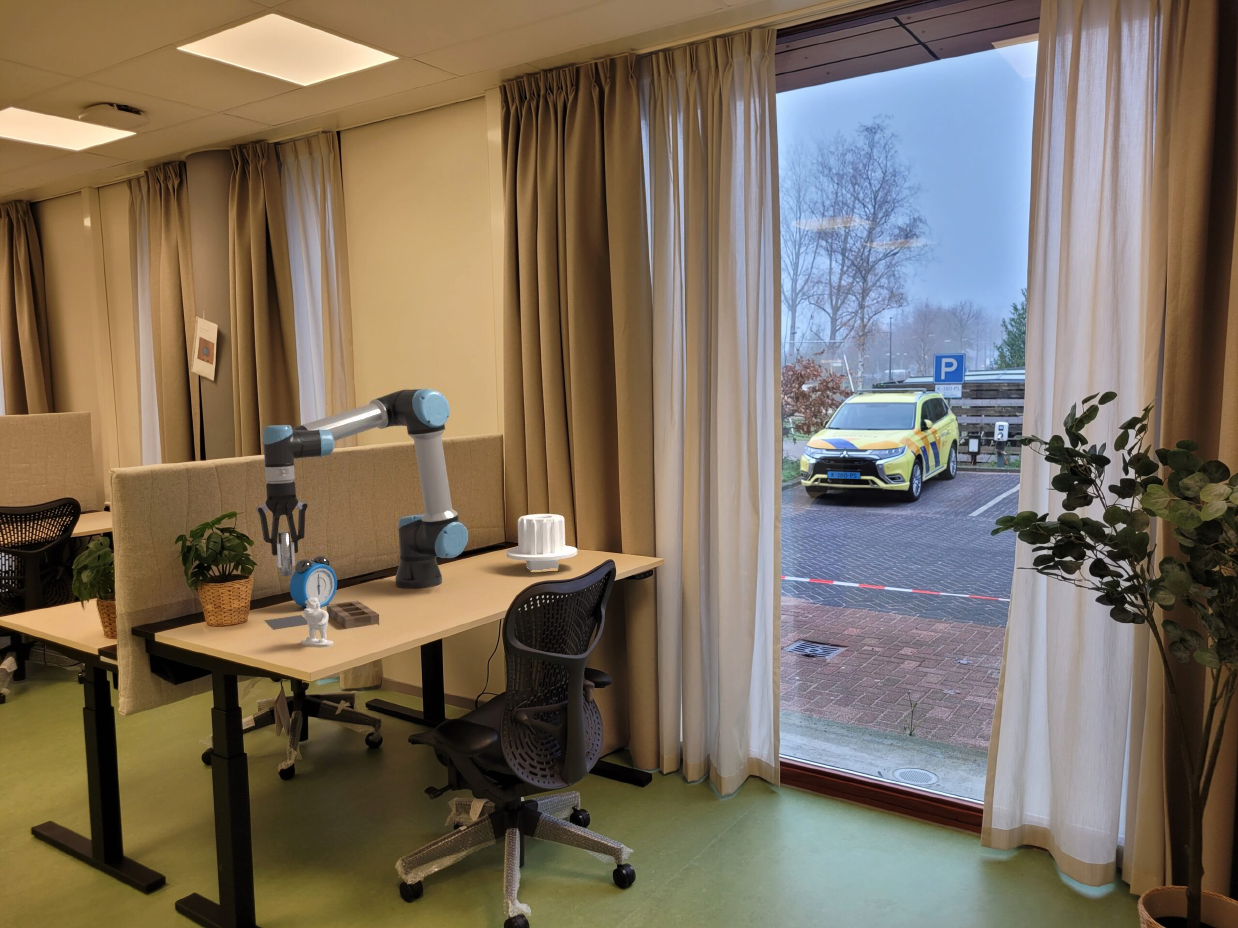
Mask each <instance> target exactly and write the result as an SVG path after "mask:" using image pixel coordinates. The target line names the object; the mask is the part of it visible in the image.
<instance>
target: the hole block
mask: <svg viewBox="0 0 1238 928" xmlns="http://www.w3.org/2000/svg"><path fill="white" fill-rule="evenodd" d="M325 607H326V612H327V613H328V615H329V617H330V618H331V619H333V620H334V621H335V622H337V623H338V624H339V625H341V626H342V627H343V628H345V630H349V629H355V628H361V627H366V626H373V625H374V626H375V625H378V626H380V614H379V613H378V612H376V611H374V610H373V609H372V608H370V607H369V606H367V605H365V604H363V602H361V601H359V600H353V601H345V602H339V603H329V605H326V606H325Z"/></svg>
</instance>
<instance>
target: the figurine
mask: <svg viewBox="0 0 1238 928" xmlns="http://www.w3.org/2000/svg"><path fill="white" fill-rule="evenodd" d="M305 603H307V606H306V608H304V609H303V610H304V612H303V614H304V618H305V619H306V621H307V624H308V628H309V629H308V633H309V636H307V637H306V638H305V639H302V640H300V644H301V645H303V646H306V647H307V646H309V647H316V648H327V647H332V646H333V645H334V641H333V640H329V639H327V637H328V636H327V629H328V627H329V617H330V616H329V615H328V613H327V610H324V609H321V607H320V604H319V602H318V598H317V597H313V598H309V599H308V600H306V601H305ZM317 631H318V632H319V634H320V638H316V637H317V633H316V632H317Z"/></svg>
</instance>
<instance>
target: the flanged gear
mask: <svg viewBox="0 0 1238 928" xmlns="http://www.w3.org/2000/svg"><path fill="white" fill-rule="evenodd" d="M565 525H566V524H565V517H564V516H563V515H560V514H554V513H553V514H552V513H536V514H535V513H534V514H527V515H521V516H520V517H519V518H518V519H517V543H518V545H517V547H513V548H509V549H507V550H506V554H505V555H506V557H507V558H508V559H511V560H517V561H526V562H525V563H526V568H527V567H528V568H529V570H530V571H532V570H543V569H550V568H558V569H559V560H565V559H568V558H569V559H570V558H572V557H575V556H577V555H578V548H577V547H575V546H570V545H566V529H565V528H566V527H565ZM529 570H528V571H529Z"/></svg>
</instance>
